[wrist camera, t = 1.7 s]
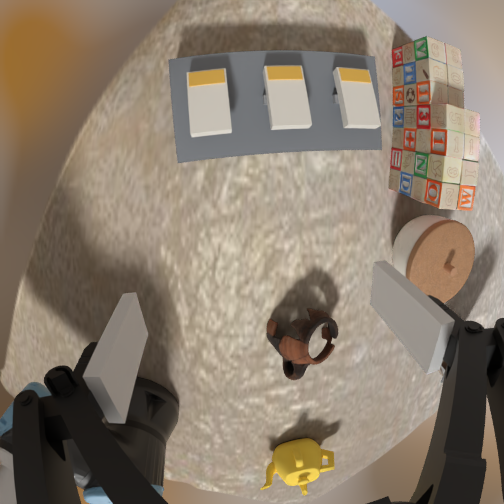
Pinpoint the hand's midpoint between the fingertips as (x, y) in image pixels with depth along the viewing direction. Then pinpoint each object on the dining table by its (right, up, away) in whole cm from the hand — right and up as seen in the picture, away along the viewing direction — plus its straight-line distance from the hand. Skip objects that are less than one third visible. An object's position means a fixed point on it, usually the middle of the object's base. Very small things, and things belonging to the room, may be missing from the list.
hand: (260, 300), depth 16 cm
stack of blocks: (+22, +22, +22) cm, 38 cm away
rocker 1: (+3, +19, +13) cm, 23 cm away
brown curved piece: (+6, -10, +32) cm, 34 cm away
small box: (-5, +18, +13) cm, 22 cm away
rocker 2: (+11, +20, +14) cm, 26 cm away
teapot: (+9, -44, +45) cm, 63 cm away
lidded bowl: (+25, +4, +28) cm, 38 cm away
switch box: (+2, +21, +19) cm, 28 cm away
